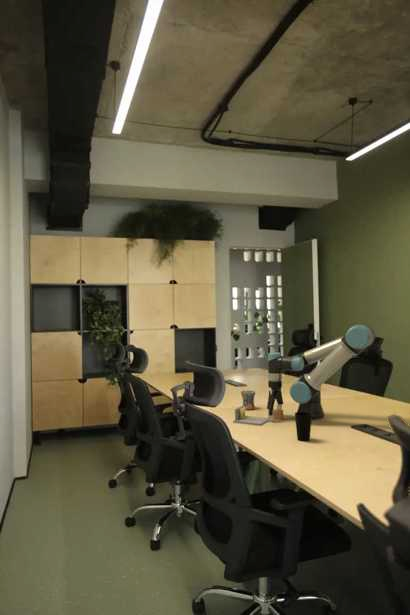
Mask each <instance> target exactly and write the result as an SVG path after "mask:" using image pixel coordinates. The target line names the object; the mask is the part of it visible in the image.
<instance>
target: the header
mask: <svg viewBox="0 0 410 615" xmlns="http://www.w3.org/2000/svg"><path fill="white" fill-rule="evenodd" d="M268 422H270V421H269V418H268V417H262V416H251V415H250V416H249V415H246V410H245V406H242V405H241V406H239V407H236V408H235V409H234V420H232V424H240V425H241V424H242V425H250V426H258V427H260V426H261V427H262V426H263V425H264V424H266V423H268Z"/></svg>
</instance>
